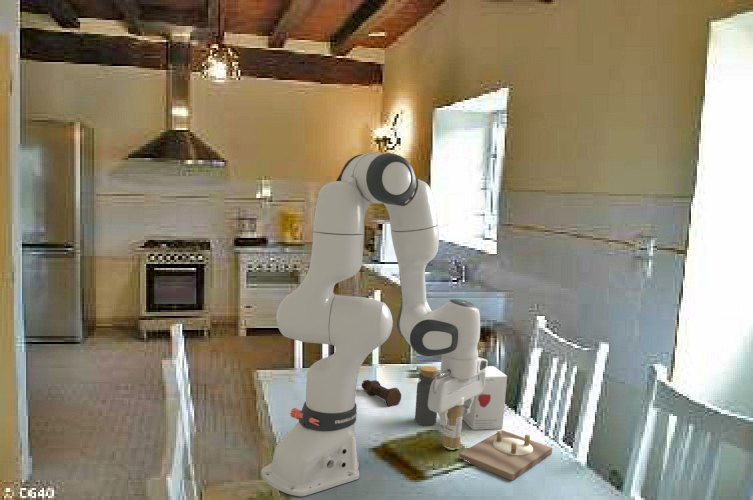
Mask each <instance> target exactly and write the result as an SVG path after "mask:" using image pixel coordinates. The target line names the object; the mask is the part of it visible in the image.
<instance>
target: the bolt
mask: <svg viewBox="0 0 753 500" xmlns="http://www.w3.org/2000/svg"><path fill="white" fill-rule="evenodd" d="M361 388H362V389H363V390H365V392H366V393H367V394H368V396H370V397H374V396H377V397H378V398H380V399H382V400H383V401H384V402H385V405H386V406H388V407H394V406H395V407H396V406H399V404H400V402H401V400H402V393H401V391H400V389H399V388H397V387H392V388H391V387H390V388H386V387H384V386H382V385H381V383H380V382H379V380H377V379H375V380H369V379H366V380H363V381H362V383H361Z"/></svg>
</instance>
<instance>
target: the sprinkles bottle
mask: <svg viewBox="0 0 753 500" xmlns="http://www.w3.org/2000/svg"><path fill="white" fill-rule="evenodd" d="M463 404H464V397H463V398H461V399H460V402H459V404H458V405H456V406H454V407H452V408H450V409H449V410H448V413H446V414H447V417H448V418H450V419H449V424H448V425H446V426H443V432H442V433H443V436H442V443H443V445H444V446H446V447H450V448H457V447H460V448H461V435H462V428H463V427H462V425H463V419H462V411H463Z"/></svg>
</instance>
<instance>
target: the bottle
mask: <svg viewBox="0 0 753 500" xmlns="http://www.w3.org/2000/svg"><path fill="white" fill-rule="evenodd" d="M419 369H420V373H419V375H418V379H420V381H418V382H417V384H416V394H415V395H416V397H415V415H414V421H415V423H416V424H418V425H421V426H427V427H428V426H429V427H430V426H434V425H436V424H437V415H438V413H436V412H433V411H431V410H430V409H429V408H428V398H429V391H430V386H431V383H432V381H433V380H434V379H435V378H436V377H437V374H438V368H437V367H435V366H430V365H424V366H420V368H419Z"/></svg>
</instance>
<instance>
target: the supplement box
mask: <svg viewBox="0 0 753 500" xmlns="http://www.w3.org/2000/svg"><path fill="white" fill-rule="evenodd" d="M485 370H486V378H485V386H484V389H483V391H482V393H480V394H478V395H476V396H474V401H473V403H472V405H471V408H470V413H468V414H466V415H465V414H463V413H462V421H464V422H465V423H466V425H467V426H468V427H470V428H471V429H472V430H473V431H478V430H479V431H481V430H497V429H498V430H503V426H504V415H505V405H506V392H507V379H508V375H506V374H505V373H504V372H502V371H501V370H500V369H498V368H497V367H495V366H493V365H489V366H488V365H487V368H485Z"/></svg>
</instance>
